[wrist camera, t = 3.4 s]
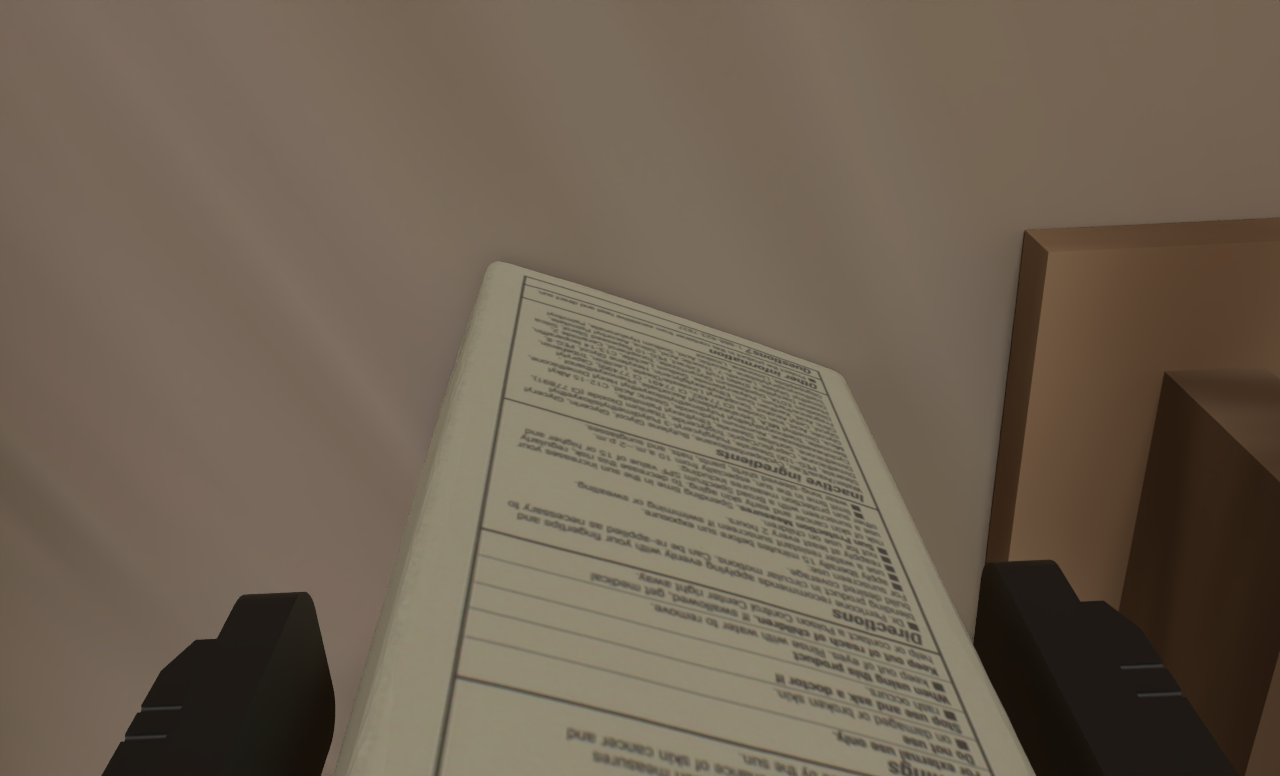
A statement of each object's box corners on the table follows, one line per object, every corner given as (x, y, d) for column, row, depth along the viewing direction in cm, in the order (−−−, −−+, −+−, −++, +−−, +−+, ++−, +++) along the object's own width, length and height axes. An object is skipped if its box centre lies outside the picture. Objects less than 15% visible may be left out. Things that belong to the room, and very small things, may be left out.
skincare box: (419, 476, 18) (109, 1418, 7) (494, 239, 16) (229, 1026, 5) (762, 576, 19) (945, 1535, 8) (869, 365, 17) (1287, 1238, 6)
